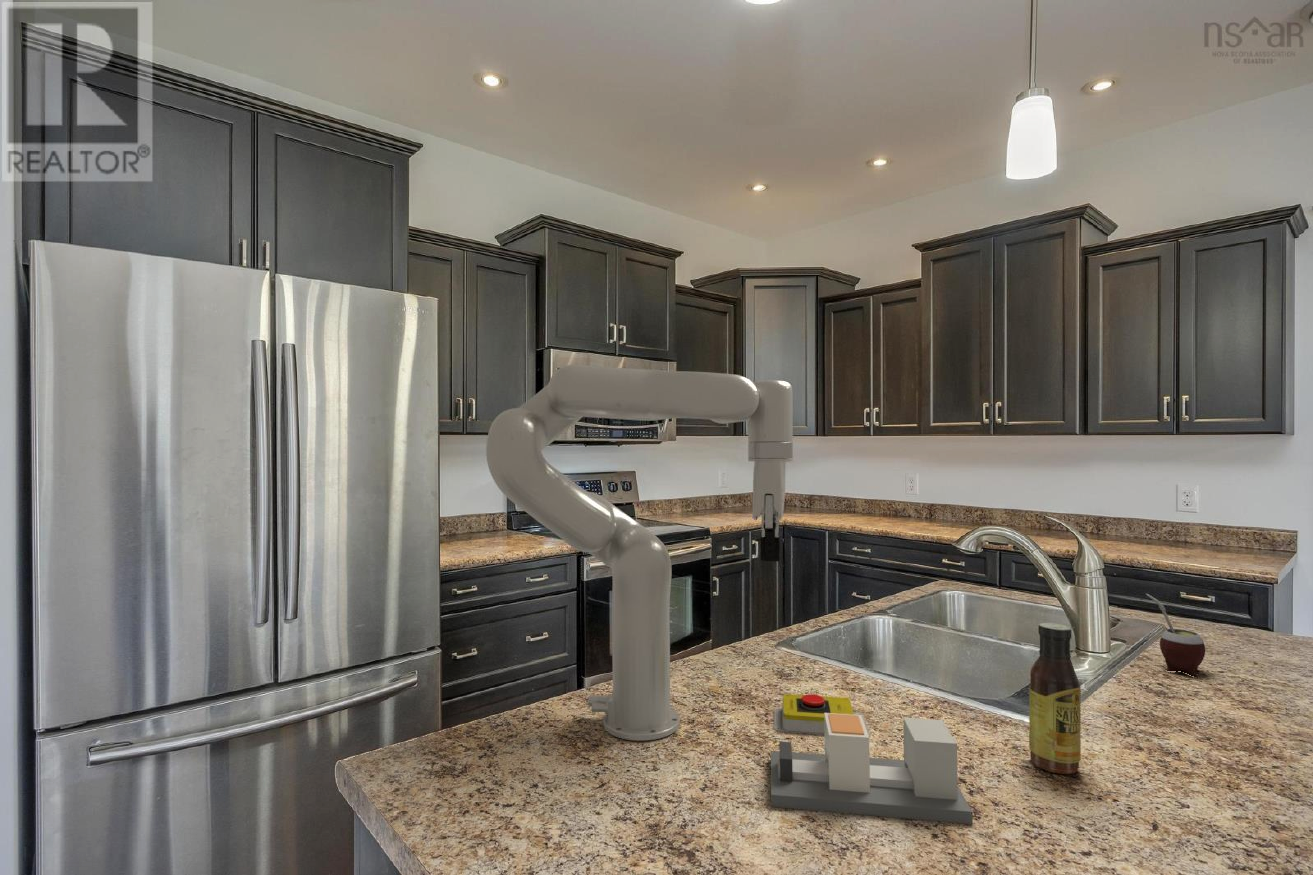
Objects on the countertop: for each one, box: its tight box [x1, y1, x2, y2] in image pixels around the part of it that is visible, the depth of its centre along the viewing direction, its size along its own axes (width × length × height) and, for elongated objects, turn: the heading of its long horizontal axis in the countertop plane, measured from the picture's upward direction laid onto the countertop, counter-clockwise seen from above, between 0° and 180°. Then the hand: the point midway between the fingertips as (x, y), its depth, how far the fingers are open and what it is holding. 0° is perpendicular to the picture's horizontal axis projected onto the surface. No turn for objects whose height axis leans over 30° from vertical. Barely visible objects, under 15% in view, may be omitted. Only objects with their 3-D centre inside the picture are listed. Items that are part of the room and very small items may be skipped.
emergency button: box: [773, 693, 871, 738], centre depth 107 cm, size 9×4×15 cm
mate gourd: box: [1145, 593, 1206, 678], centre depth 129 cm, size 8×8×15 cm
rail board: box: [770, 717, 974, 825], centre depth 86 cm, size 24×12×8 cm, turn 80°
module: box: [824, 713, 870, 793], centre depth 86 cm, size 5×7×7 cm
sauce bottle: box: [1028, 622, 1082, 775], centre depth 92 cm, size 6×6×20 cm
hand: (770, 560), depth 110 cm, fingers closed
